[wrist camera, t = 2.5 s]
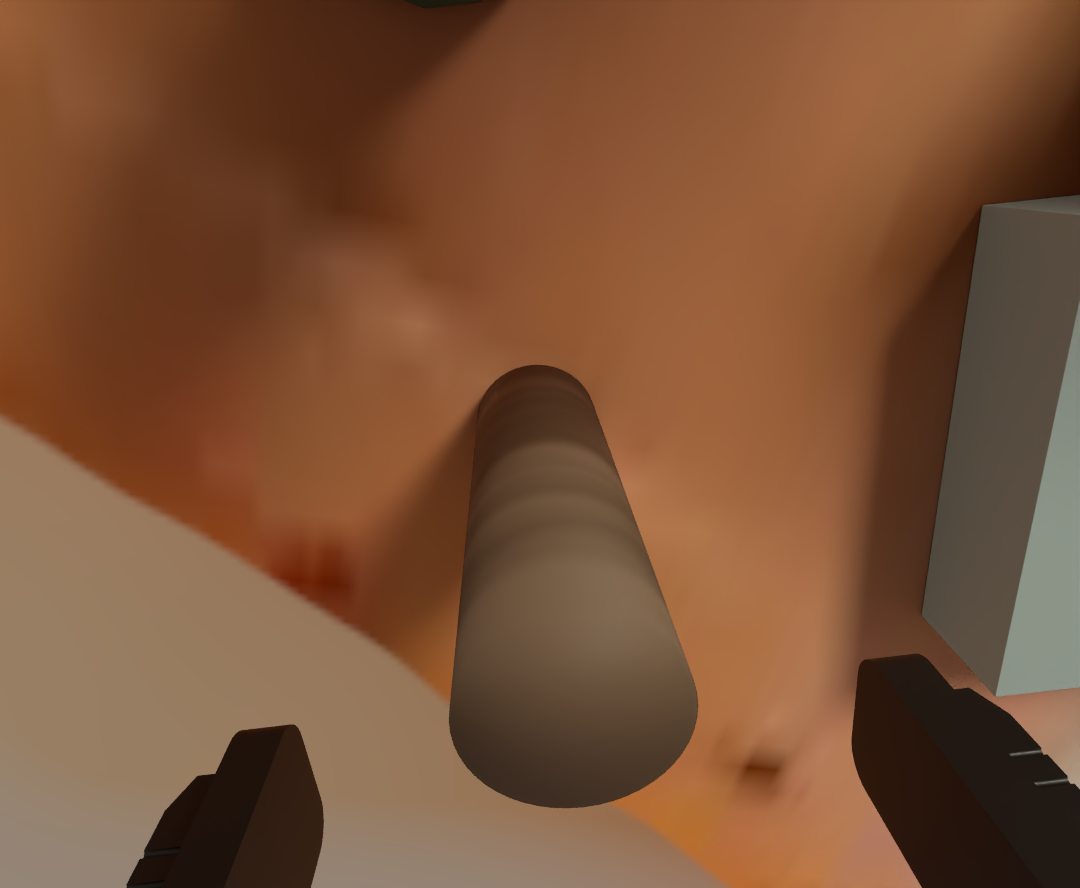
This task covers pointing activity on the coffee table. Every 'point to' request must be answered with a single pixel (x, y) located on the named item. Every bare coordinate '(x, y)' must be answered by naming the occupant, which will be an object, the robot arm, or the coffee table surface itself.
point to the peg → (560, 611)
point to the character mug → (440, 2)
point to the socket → (1015, 458)
